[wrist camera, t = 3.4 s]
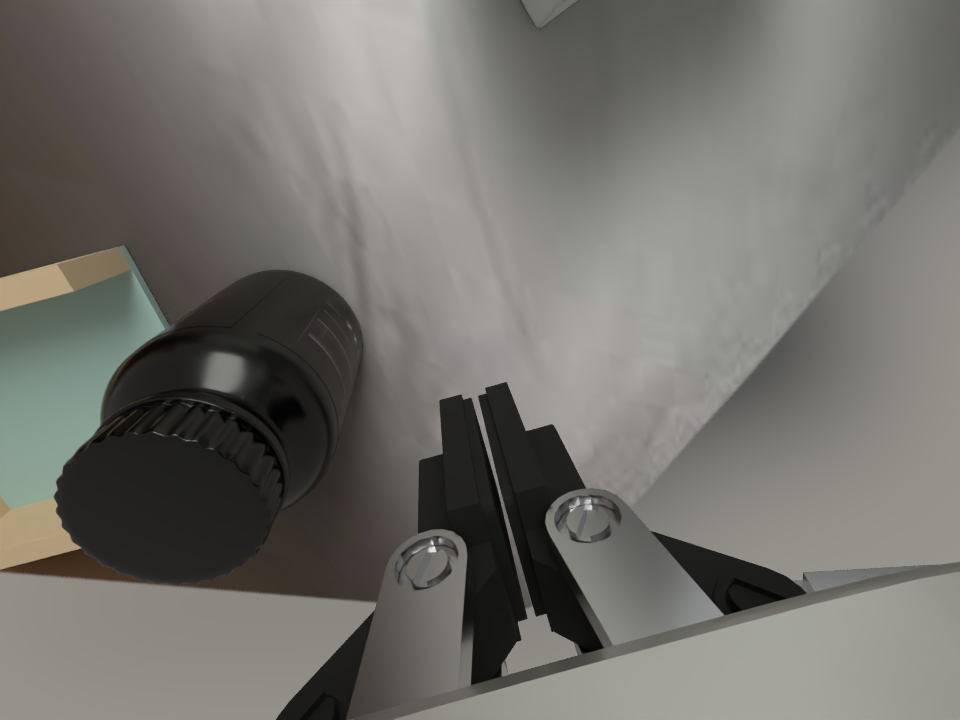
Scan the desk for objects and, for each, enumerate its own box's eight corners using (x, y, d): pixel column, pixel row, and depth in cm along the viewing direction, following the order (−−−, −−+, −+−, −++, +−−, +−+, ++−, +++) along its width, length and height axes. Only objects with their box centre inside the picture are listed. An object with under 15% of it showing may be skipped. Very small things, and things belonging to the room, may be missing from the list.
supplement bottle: (251, 415, 23) (95, 640, 12) (189, 285, 21) (-84, 430, 10) (384, 384, 23) (344, 582, 13) (340, 251, 21) (239, 356, 10)
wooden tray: (124, 245, 20) (56, 264, 16) (245, 461, 24) (213, 513, 21) (-170, 323, 20) (-302, 359, 16) (8, 524, 25) (-64, 586, 21)
